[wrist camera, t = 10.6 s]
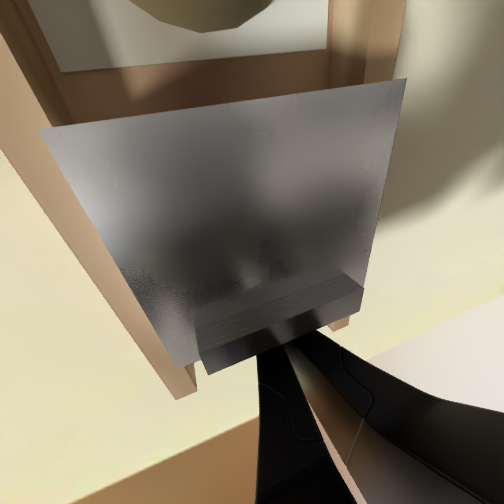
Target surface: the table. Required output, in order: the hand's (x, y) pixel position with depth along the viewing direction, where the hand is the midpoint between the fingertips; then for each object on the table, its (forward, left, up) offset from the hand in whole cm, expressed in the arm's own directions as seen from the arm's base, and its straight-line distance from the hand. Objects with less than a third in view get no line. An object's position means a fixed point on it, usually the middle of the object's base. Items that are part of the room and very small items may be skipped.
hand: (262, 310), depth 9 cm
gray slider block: (0, -4, -1) cm, 5 cm away
